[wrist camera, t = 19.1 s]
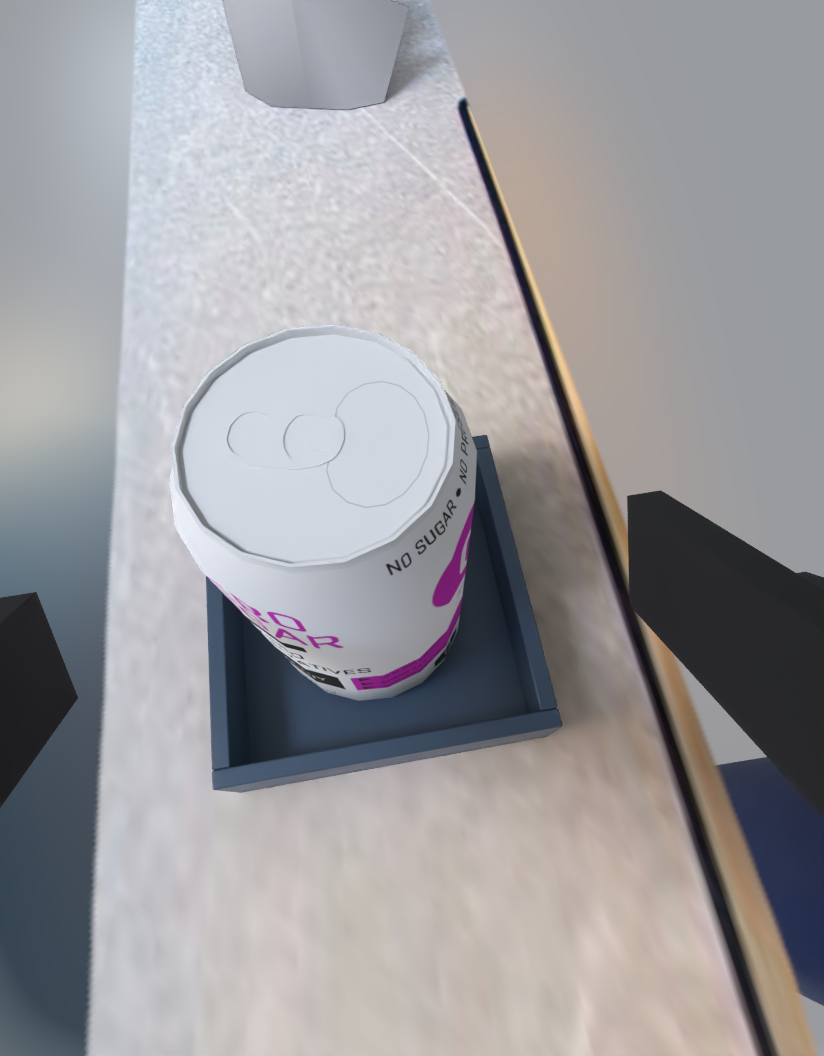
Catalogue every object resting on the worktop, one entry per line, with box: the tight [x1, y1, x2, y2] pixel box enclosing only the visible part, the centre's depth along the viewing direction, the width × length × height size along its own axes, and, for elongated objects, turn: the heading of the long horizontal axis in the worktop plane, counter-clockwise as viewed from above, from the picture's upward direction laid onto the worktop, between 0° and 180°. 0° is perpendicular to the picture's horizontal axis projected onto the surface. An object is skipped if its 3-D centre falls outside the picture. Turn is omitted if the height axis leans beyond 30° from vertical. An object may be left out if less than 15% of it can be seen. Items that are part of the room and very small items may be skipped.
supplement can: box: [169, 324, 477, 701], centre depth 22 cm, size 8×8×15 cm
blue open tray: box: [206, 435, 562, 792], centre depth 28 cm, size 13×13×4 cm
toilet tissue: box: [222, 0, 409, 110], centre depth 44 cm, size 9×13×9 cm
